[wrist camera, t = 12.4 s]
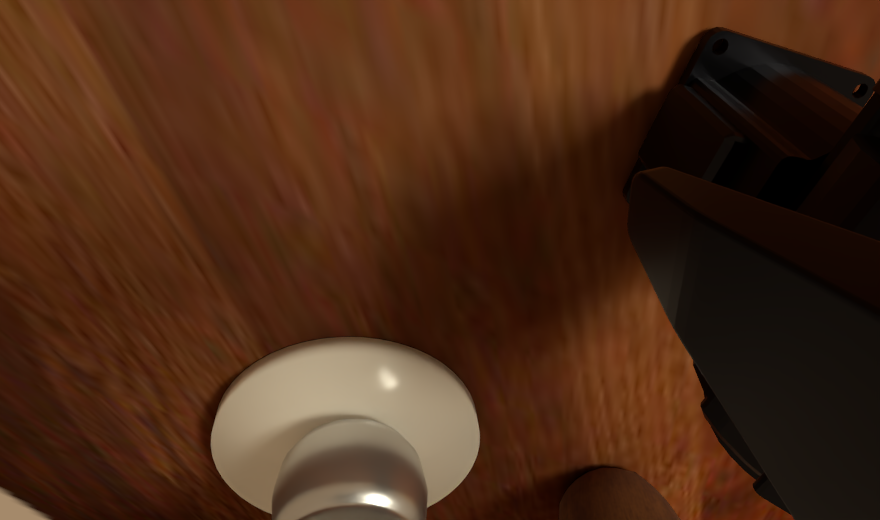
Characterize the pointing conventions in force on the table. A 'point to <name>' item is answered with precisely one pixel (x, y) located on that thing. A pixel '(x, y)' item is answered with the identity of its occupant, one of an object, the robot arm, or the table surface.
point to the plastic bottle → (351, 475)
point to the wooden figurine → (613, 498)
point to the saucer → (343, 410)
